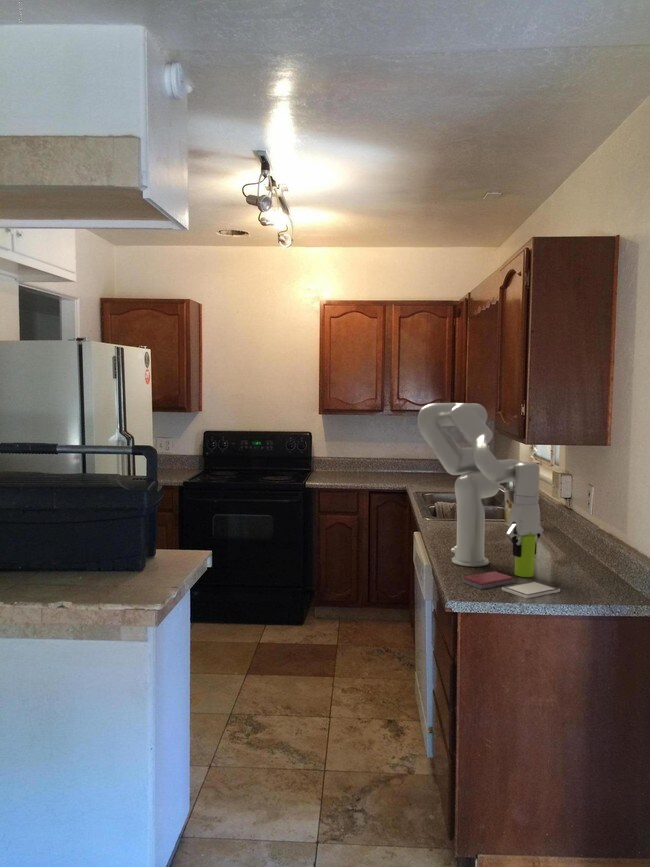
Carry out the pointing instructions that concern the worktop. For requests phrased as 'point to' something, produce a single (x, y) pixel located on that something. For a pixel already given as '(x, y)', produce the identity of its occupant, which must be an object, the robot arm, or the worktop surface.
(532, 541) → the soap dispenser
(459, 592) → the worktop surface
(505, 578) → the ink pad
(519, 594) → the marked card
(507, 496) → the coffee box
